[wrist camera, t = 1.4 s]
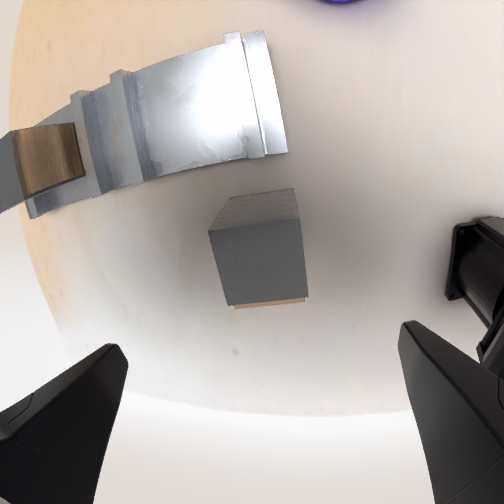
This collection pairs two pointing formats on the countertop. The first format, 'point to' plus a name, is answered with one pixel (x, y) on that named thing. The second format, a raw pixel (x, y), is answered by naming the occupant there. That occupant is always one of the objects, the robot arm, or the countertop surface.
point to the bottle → (340, 0)
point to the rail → (172, 119)
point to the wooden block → (37, 162)
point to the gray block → (260, 250)
